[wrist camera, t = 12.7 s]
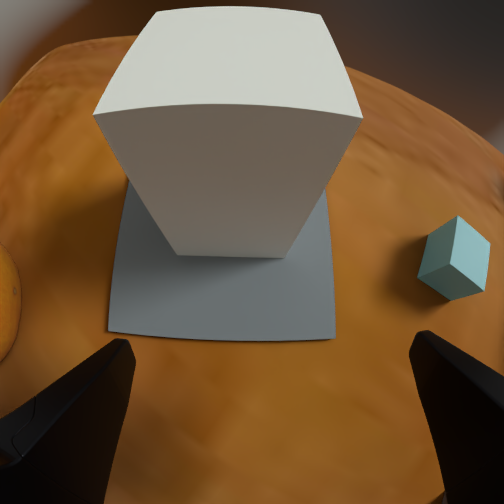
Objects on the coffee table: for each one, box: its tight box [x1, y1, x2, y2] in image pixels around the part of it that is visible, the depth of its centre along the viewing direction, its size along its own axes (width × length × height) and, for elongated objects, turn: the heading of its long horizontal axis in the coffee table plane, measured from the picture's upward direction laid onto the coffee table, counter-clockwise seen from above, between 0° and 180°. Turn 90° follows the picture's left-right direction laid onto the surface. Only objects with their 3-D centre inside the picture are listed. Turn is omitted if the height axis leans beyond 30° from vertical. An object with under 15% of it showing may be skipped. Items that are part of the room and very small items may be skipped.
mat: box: [108, 180, 336, 341], centre depth 18 cm, size 14×14×1 cm
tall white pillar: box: [93, 6, 363, 258], centre depth 12 cm, size 7×7×12 cm
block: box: [417, 215, 490, 301], centre depth 16 cm, size 4×4×4 cm
